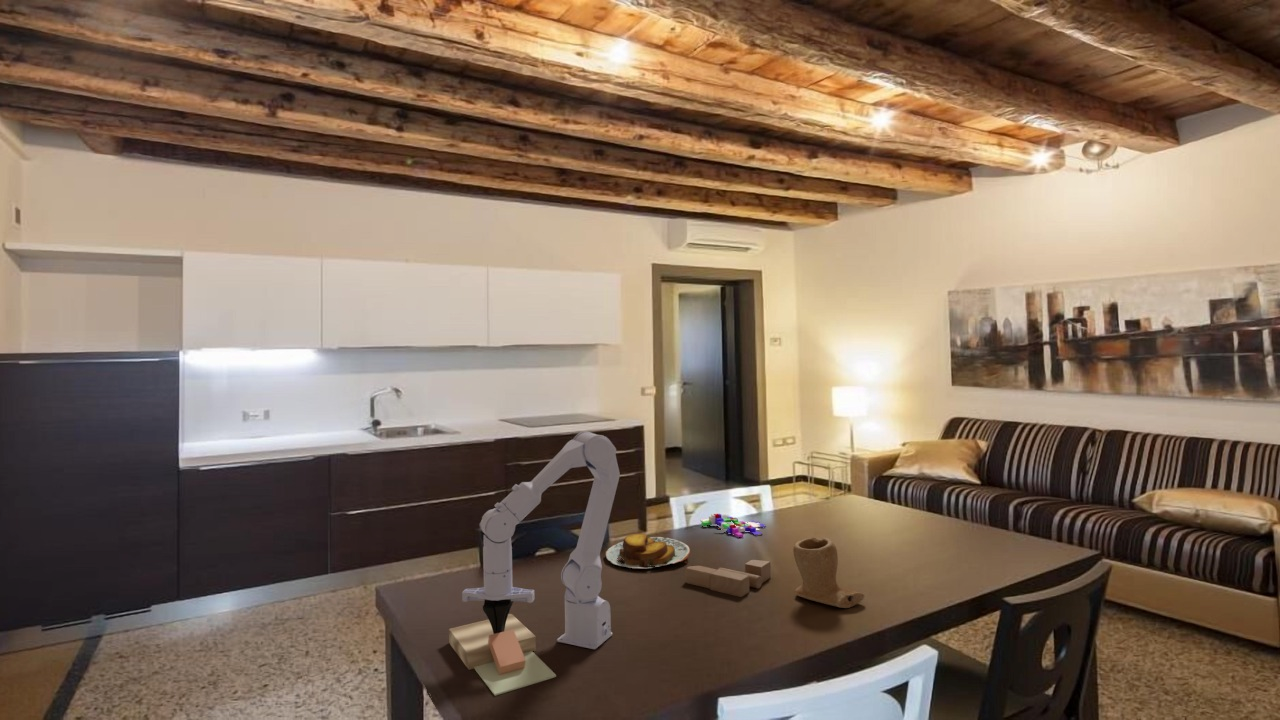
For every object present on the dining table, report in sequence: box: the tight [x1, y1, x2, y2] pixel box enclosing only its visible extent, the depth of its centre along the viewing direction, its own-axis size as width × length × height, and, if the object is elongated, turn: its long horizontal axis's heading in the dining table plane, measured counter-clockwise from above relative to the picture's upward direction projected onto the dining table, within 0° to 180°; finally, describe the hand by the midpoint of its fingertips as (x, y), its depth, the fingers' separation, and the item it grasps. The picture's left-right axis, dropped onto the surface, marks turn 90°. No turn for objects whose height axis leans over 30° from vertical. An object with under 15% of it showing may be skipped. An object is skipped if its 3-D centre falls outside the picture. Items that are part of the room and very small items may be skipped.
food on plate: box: [605, 533, 691, 570], centre depth 189 cm, size 25×25×7 cm
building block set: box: [699, 513, 767, 538], centre depth 221 cm, size 25×20×4 cm
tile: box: [488, 630, 526, 675], centre depth 123 cm, size 8×5×2 cm, turn 30°
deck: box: [448, 613, 537, 671], centre depth 132 cm, size 14×14×3 cm
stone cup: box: [793, 537, 865, 609], centre depth 153 cm, size 15×12×15 cm
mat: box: [473, 651, 557, 697], centre depth 121 cm, size 12×12×1 cm
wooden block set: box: [684, 559, 772, 598], centre depth 168 cm, size 17×6×18 cm
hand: (499, 636), depth 128 cm, fingers closed
